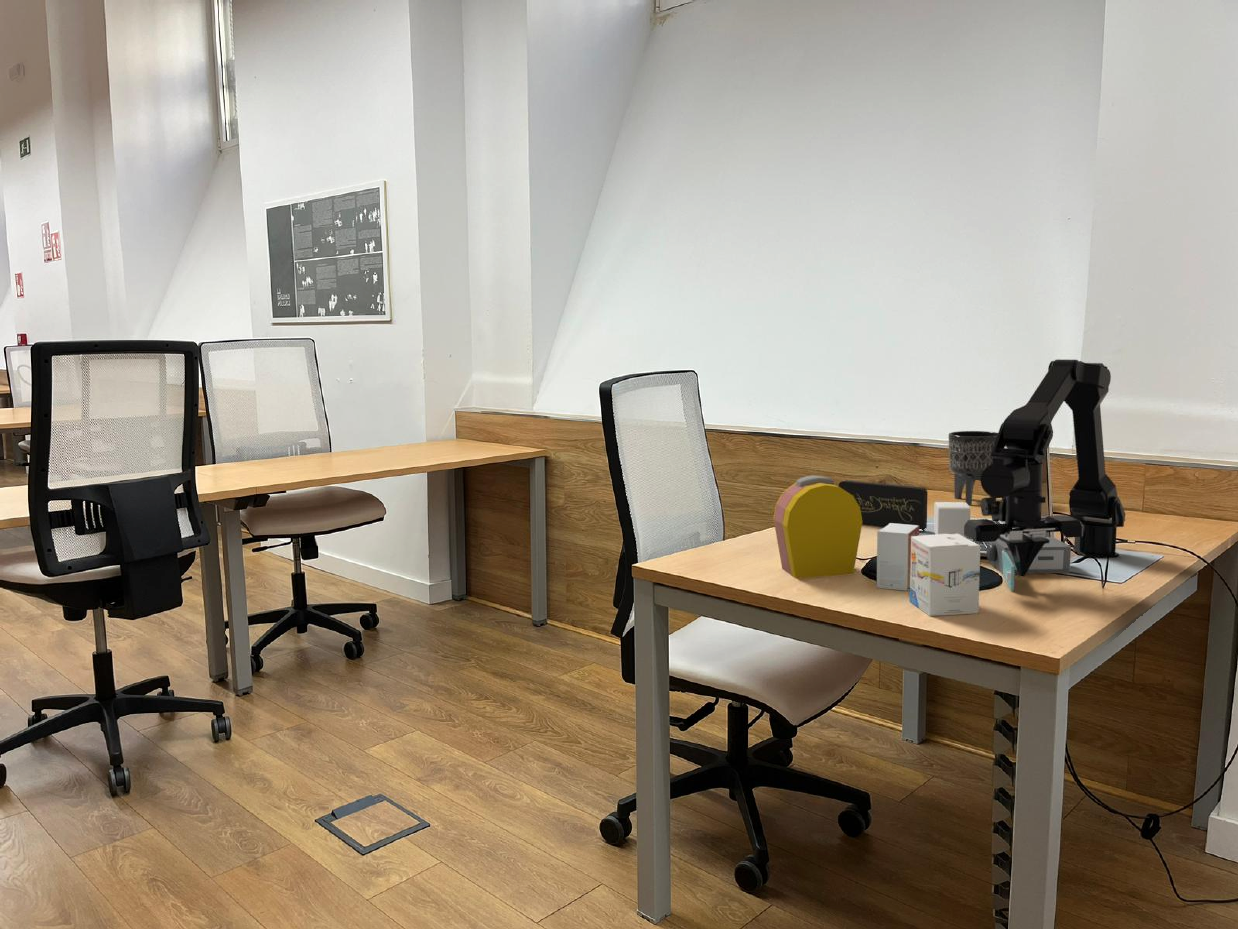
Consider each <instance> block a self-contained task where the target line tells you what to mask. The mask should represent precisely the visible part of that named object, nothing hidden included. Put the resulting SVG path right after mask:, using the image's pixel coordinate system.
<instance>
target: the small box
mask: <svg viewBox="0 0 1238 929" xmlns="http://www.w3.org/2000/svg"><path fill="white" fill-rule="evenodd" d="M876 533H877V534H876V536H877V539H876V543H877V545H876V588H877V589H888V590H894V591H902V592H903V591H904V592H908V591H910V572H911V537H912V536H920V532H919V526H918V525H907V524H896V523H889V524H888V525H887V526H886V527H884V528H883V527H882V528H881V529H880V530H877V532H876Z"/></svg>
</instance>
